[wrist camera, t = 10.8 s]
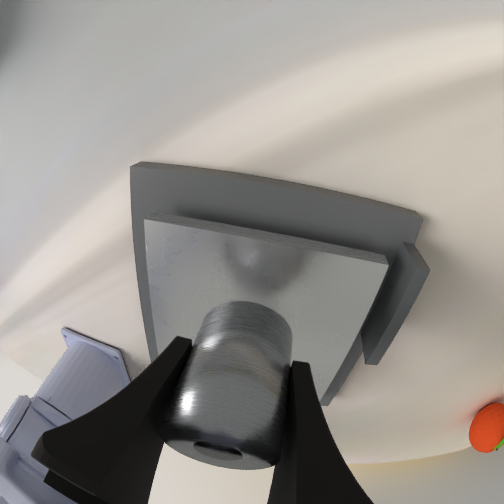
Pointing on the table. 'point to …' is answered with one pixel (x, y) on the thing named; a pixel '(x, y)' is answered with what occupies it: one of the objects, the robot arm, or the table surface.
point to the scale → (293, 224)
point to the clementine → (488, 428)
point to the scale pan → (260, 284)
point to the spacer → (233, 389)
